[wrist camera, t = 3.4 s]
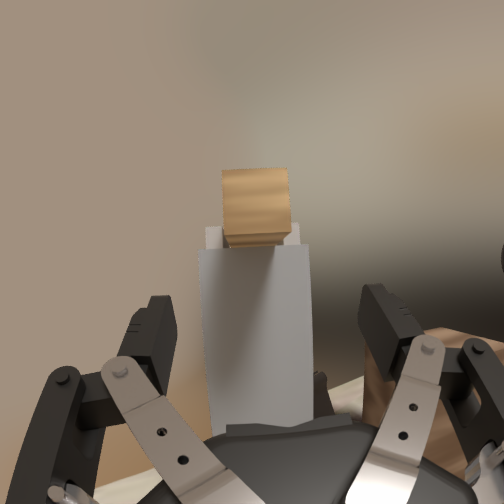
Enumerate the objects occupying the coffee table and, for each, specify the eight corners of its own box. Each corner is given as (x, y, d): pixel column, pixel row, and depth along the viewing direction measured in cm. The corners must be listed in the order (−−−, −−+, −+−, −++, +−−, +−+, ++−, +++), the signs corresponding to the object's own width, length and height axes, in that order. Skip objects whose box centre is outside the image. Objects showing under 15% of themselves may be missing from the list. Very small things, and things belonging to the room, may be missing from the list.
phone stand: (340, 434, 48) (342, 374, 49) (322, 450, 43) (324, 386, 44) (299, 424, 54) (298, 367, 55) (279, 437, 50) (277, 377, 50)
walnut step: (353, 498, 29) (364, 340, 31) (421, 479, 30) (441, 327, 31) (383, 558, 17) (423, 371, 19) (463, 526, 18) (512, 345, 19)
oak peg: (235, 256, 45) (234, 228, 45) (264, 255, 45) (262, 226, 45) (224, 234, 19) (221, 170, 19) (291, 231, 19) (286, 167, 19)
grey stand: (228, 464, 41) (212, 242, 43) (294, 460, 41) (286, 238, 43) (224, 522, 27) (197, 227, 29) (309, 516, 27) (306, 222, 29)
